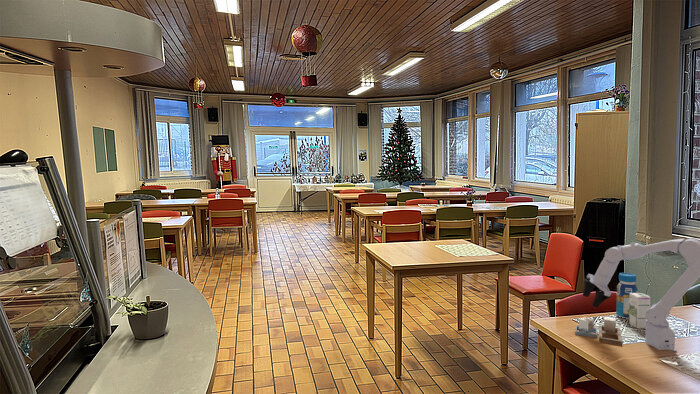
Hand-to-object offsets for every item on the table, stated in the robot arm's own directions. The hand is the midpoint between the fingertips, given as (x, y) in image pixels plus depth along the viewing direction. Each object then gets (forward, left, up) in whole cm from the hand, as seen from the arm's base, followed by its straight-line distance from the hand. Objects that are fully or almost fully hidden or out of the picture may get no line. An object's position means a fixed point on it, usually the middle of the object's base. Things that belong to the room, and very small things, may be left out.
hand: (589, 301), depth 182 cm
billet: (-5, -6, -12) cm, 14 cm away
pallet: (-9, -4, -13) cm, 16 cm away
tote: (-5, +4, -13) cm, 14 cm away
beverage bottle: (+18, -26, -13) cm, 34 cm away
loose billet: (-5, +4, -12) cm, 14 cm away
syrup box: (+4, -23, -13) cm, 27 cm away
